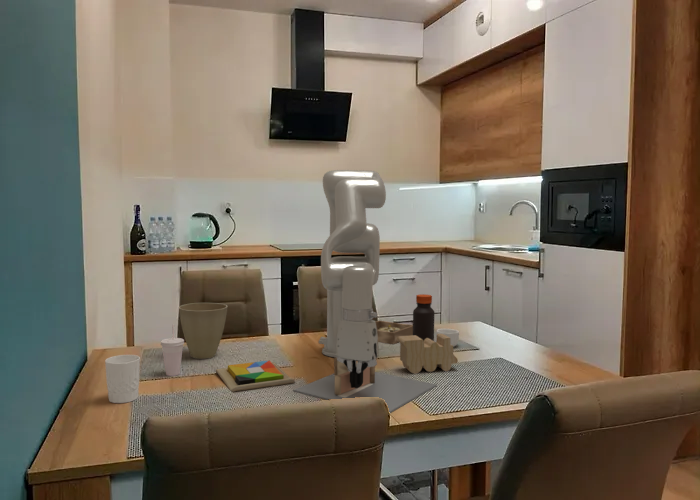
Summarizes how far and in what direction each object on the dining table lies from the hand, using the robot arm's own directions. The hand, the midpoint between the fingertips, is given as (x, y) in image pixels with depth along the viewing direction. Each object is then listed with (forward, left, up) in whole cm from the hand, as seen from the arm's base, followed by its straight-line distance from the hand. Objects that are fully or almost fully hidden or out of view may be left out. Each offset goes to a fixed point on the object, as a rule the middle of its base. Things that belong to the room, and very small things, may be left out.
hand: (356, 386), depth 141 cm
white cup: (-45, -36, -3) cm, 58 cm away
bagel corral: (-27, +59, -2) cm, 65 cm away
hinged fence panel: (-3, +2, -2) cm, 4 cm away
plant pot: (-60, +2, -3) cm, 60 cm away
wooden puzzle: (-31, -5, -3) cm, 31 cm away
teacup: (-4, +61, -3) cm, 61 cm away
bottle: (-3, +42, -3) cm, 42 cm away
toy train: (+4, +31, -3) cm, 31 cm away
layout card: (-1, +6, -2) cm, 6 cm away
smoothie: (-52, -16, -3) cm, 54 cm away
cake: (-25, +58, -3) cm, 64 cm away
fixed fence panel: (-8, +10, -2) cm, 13 cm away
